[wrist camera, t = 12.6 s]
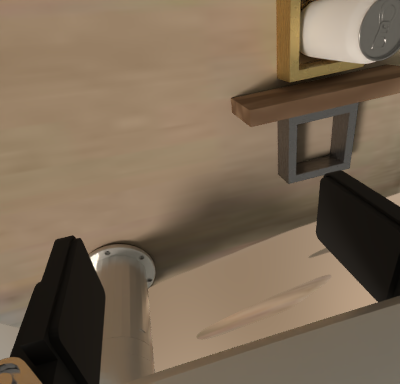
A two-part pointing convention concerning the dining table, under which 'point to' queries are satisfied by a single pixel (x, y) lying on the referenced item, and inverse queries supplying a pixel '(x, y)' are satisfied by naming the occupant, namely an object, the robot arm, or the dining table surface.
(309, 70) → the brass keeper
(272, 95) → the brown wooden plank
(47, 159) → the dining table surface
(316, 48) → the can
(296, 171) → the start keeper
